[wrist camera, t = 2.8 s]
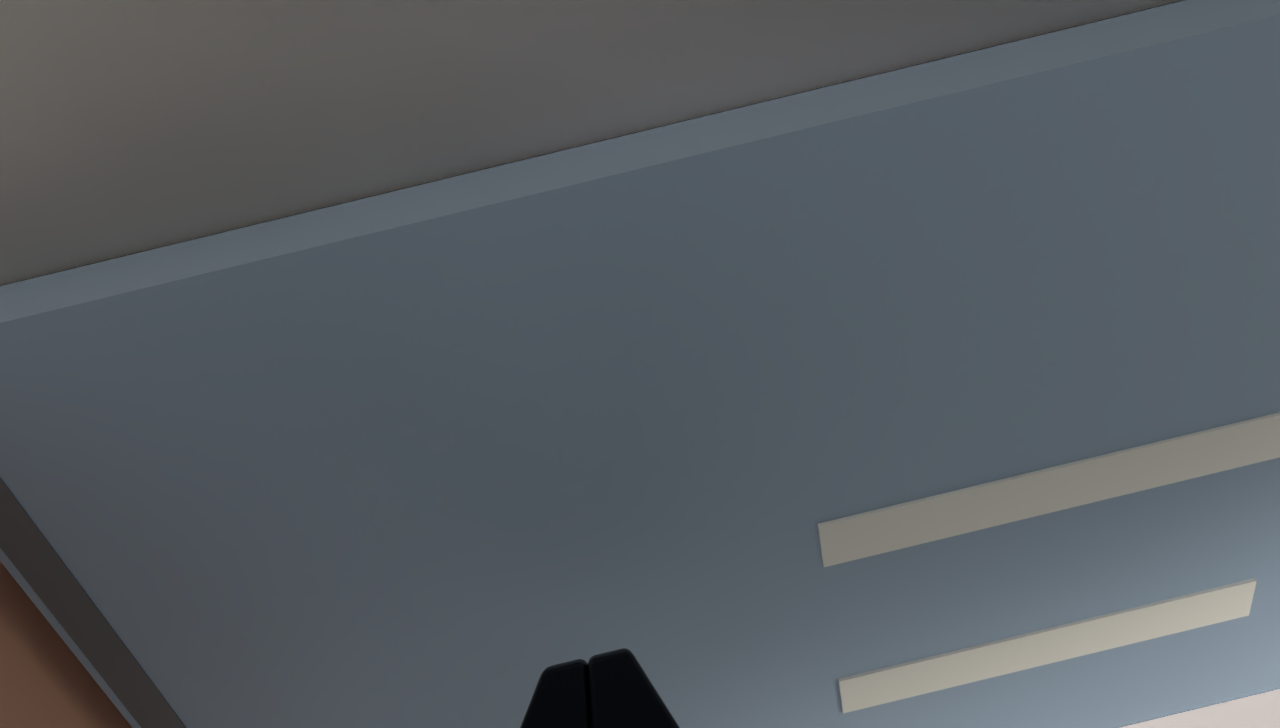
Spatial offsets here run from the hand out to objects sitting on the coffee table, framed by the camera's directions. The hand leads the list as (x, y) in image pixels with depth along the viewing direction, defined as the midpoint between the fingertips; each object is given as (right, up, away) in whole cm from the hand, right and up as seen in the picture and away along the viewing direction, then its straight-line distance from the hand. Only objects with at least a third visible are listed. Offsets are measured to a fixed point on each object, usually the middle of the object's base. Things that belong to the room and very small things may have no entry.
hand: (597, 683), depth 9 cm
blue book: (+2, +1, +2) cm, 3 cm away
